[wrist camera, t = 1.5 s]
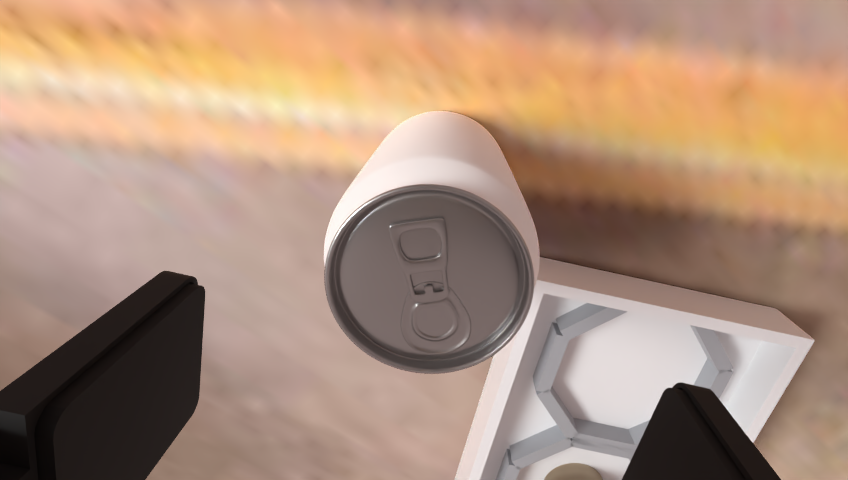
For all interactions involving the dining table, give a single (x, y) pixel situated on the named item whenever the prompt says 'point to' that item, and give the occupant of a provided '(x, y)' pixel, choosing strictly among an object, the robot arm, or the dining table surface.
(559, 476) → the dowel
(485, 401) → the housing
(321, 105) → the dining table surface
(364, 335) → the can
